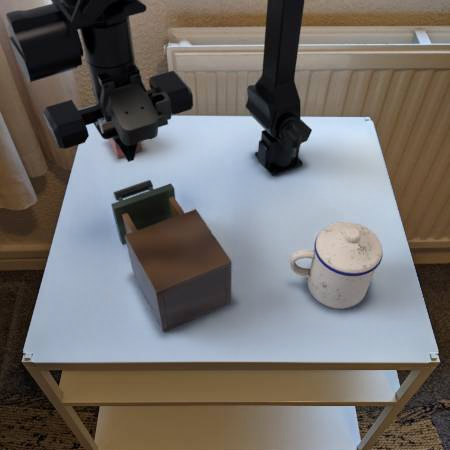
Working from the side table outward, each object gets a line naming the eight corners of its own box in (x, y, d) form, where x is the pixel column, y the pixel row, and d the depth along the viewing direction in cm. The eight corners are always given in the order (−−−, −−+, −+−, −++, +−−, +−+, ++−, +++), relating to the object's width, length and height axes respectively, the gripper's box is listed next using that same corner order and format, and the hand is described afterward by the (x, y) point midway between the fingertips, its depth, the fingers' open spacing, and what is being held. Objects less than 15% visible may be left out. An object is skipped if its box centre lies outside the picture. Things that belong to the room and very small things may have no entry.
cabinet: (134, 278, 75) (124, 235, 67) (198, 253, 78) (195, 208, 70) (163, 332, 70) (155, 292, 62) (230, 303, 72) (231, 261, 65)
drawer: (108, 219, 80) (99, 182, 74) (162, 200, 83) (157, 163, 76) (143, 283, 73) (135, 249, 67) (201, 260, 76) (199, 225, 69)
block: (132, 136, 94) (128, 115, 90) (142, 150, 91) (138, 129, 88) (109, 143, 92) (104, 122, 89) (118, 158, 90) (113, 137, 86)
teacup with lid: (364, 263, 77) (385, 209, 67) (370, 313, 72) (393, 262, 62) (286, 258, 77) (295, 204, 68) (286, 308, 72) (296, 256, 62)
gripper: (54, 114, 53) (86, 217, 66) (210, 68, 58) (212, 172, 71) (25, 62, 59) (60, 167, 72) (170, 24, 64) (179, 128, 77)
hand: (129, 159), depth 73 cm, fingers closed
